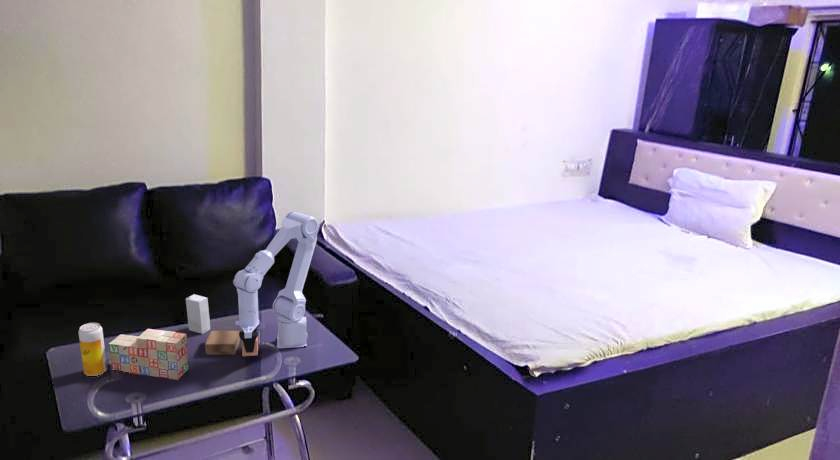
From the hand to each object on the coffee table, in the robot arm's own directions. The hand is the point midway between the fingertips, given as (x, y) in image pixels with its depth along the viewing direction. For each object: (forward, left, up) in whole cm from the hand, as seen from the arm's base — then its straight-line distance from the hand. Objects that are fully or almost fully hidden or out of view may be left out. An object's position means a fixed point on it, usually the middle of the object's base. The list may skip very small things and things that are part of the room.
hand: (250, 347), depth 190 cm
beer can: (+44, +2, -4) cm, 44 cm away
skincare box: (+18, -22, -4) cm, 29 cm away
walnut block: (+9, -9, -5) cm, 14 cm away
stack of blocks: (+29, +2, -5) cm, 29 cm away
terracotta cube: (0, 0, -1) cm, 1 cm away
